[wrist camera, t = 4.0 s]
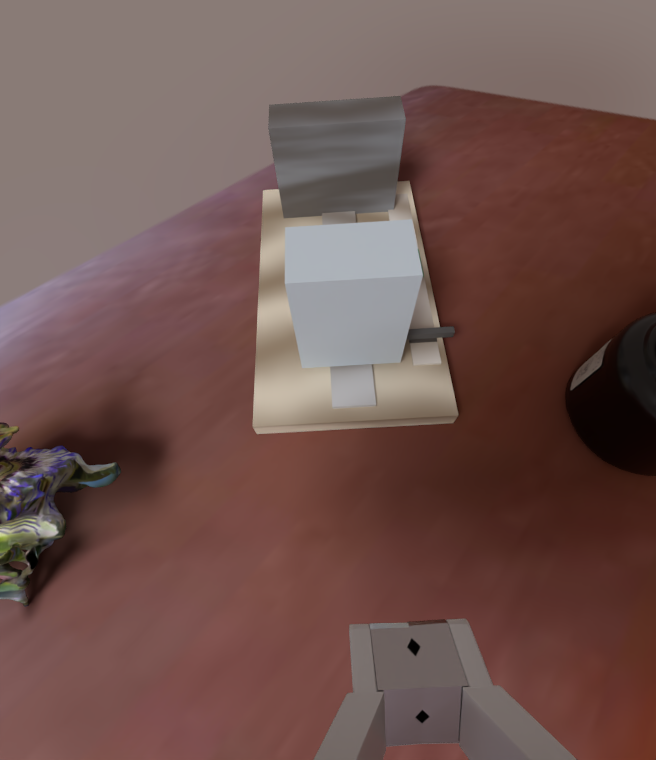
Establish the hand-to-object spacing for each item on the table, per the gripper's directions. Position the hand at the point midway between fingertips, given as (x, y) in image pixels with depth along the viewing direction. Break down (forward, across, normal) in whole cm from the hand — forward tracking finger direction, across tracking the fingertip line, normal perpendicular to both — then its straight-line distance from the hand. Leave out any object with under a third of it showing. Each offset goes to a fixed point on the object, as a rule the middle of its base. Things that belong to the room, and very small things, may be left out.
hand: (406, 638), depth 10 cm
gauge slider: (+21, -2, -4) cm, 22 cm away
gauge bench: (+26, 0, -6) cm, 27 cm away
